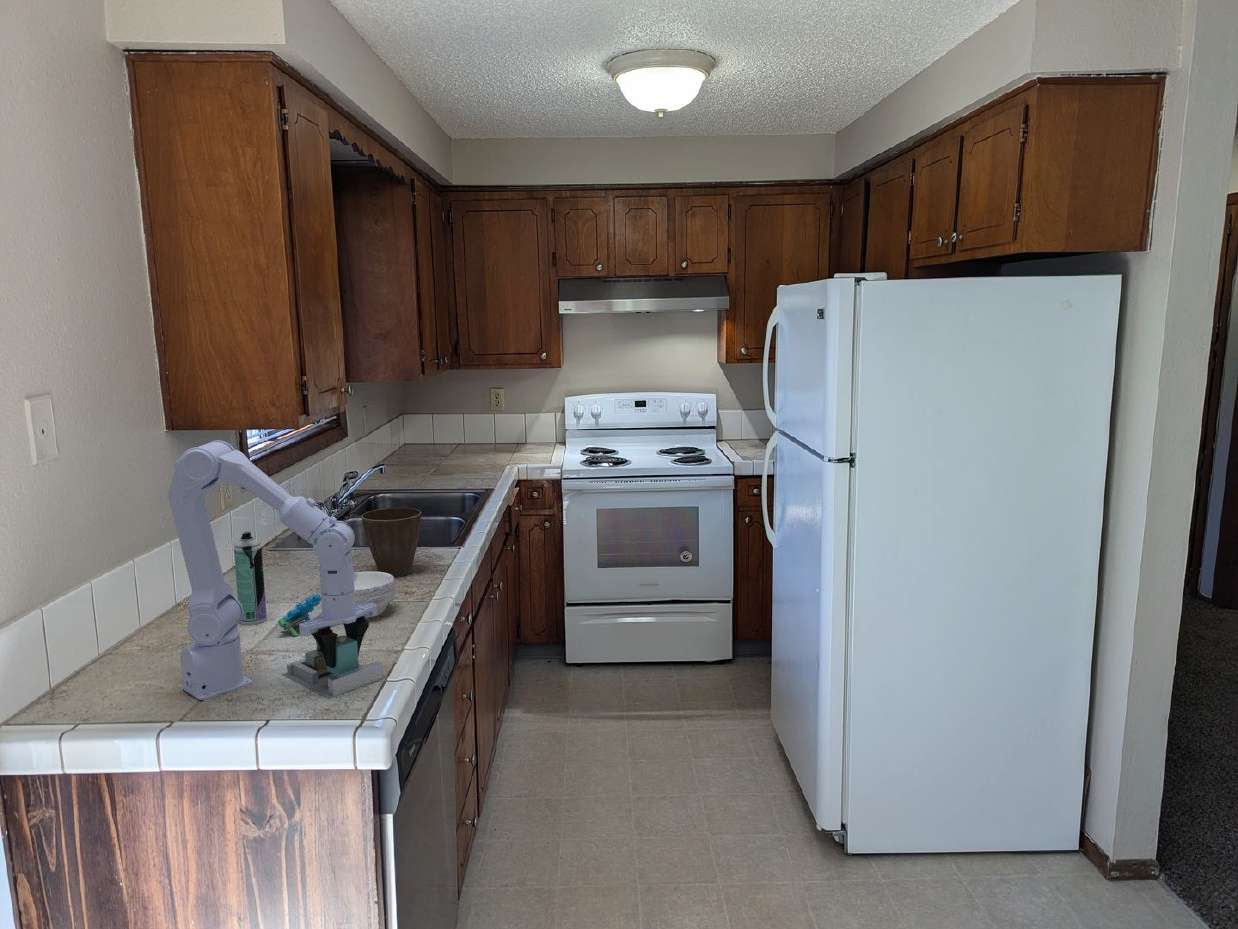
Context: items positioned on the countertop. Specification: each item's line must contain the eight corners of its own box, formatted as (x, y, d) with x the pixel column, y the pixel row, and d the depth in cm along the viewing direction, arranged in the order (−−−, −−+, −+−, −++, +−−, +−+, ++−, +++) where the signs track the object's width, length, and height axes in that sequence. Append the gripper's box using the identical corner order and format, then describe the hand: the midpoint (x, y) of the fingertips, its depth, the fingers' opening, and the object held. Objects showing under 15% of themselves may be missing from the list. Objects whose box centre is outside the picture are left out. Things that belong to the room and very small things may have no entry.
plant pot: (363, 584, 211) (359, 521, 208) (366, 567, 225) (363, 509, 223) (424, 579, 214) (421, 518, 212) (423, 563, 229) (421, 506, 226)
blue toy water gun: (306, 610, 187) (324, 585, 182) (323, 630, 186) (342, 606, 181) (266, 632, 178) (284, 607, 173) (283, 653, 177) (302, 629, 172)
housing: (339, 676, 151) (337, 643, 150) (327, 670, 153) (324, 637, 152) (358, 669, 154) (356, 636, 153) (346, 663, 156) (344, 631, 155)
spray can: (271, 620, 185) (264, 532, 182) (246, 627, 181) (239, 536, 178) (260, 614, 189) (253, 528, 186) (235, 621, 185) (228, 532, 182)
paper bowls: (347, 600, 199) (345, 568, 197) (407, 604, 196) (406, 571, 194) (311, 622, 184) (309, 587, 183) (376, 627, 181) (374, 592, 180)
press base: (328, 700, 146) (327, 682, 146) (281, 676, 156) (280, 659, 156) (387, 678, 155) (386, 661, 155) (339, 656, 165) (338, 640, 165)
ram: (316, 678, 154) (313, 635, 153) (304, 672, 157) (301, 630, 155) (345, 668, 159) (342, 626, 157) (333, 662, 161) (331, 621, 160)
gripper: (312, 605, 143) (317, 681, 145) (385, 585, 154) (389, 655, 156) (291, 597, 147) (296, 670, 150) (363, 578, 158) (367, 646, 161)
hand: (342, 662), depth 153 cm, fingers closed on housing, 4 cm apart
